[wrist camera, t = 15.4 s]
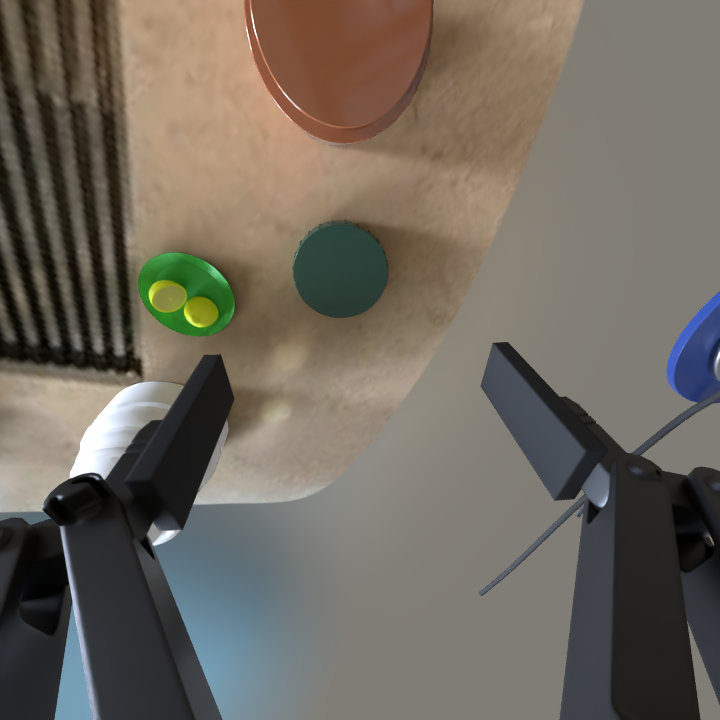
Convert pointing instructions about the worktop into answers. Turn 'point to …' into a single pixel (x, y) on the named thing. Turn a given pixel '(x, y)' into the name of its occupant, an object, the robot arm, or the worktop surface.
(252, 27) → the jam jar
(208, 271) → the lemons on plate
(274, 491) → the worktop surface
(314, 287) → the jar lid
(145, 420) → the honey pot
